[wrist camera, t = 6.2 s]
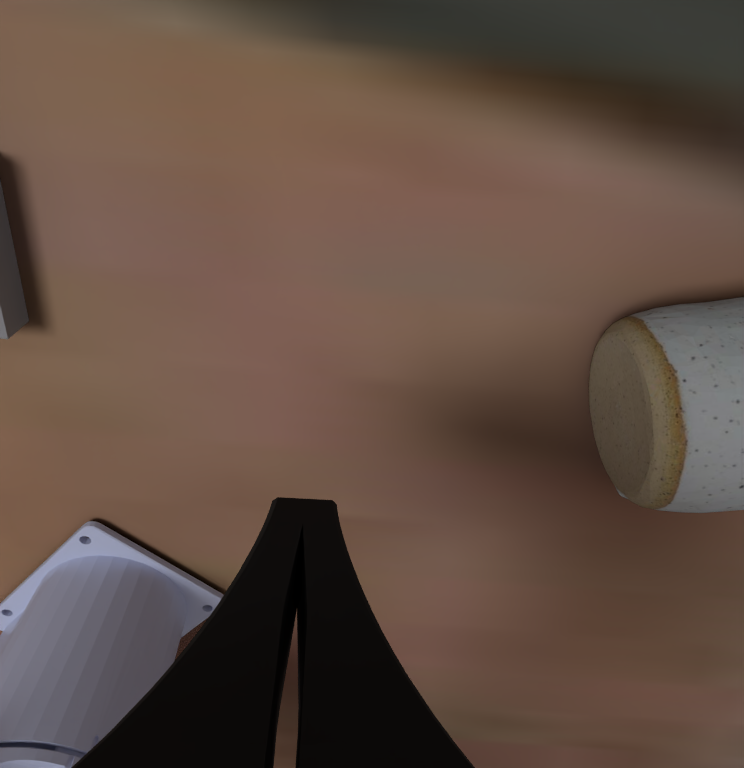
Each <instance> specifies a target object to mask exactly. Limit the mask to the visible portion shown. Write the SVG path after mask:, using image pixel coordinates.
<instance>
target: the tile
mask: <svg viewBox="0 0 744 768" xmlns="http://www.w3.org/2000/svg"><path fill="white" fill-rule="evenodd" d="M27 322H29V318H28V313H27V308H26V303H25V299H24V294H23V289H22V284H21V279H20V274H19V269H18V264H17V259H16V254H15V249H14V244H13V240H12V235H11V230H10V225H9V220H8V215H7V210H6V205H5V200H4V195H3V190H2V186H1V181H0V338H1V339H9V338H10V337H11V336H12V335H13V334H15V333H16V332H17V331H18V330H19V329H20V328H22V327H23V326H24V325H25V324H26V323H27Z"/></svg>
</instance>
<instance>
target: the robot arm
mask: <svg viewBox="0 0 744 768" xmlns="http://www.w3.org/2000/svg"><path fill="white" fill-rule="evenodd" d="M85 536H86V537H85ZM87 537H89V538H87ZM296 611H297V632H298V700H299V712H298V739H297V754H296V768H475V767H474V766H473V765H472V764H471V762H470V761H469V760H468V759H467V757H466V756H465V755H464V754H463V752H462V751H461V750H460V749H459V747H458V746H457V745H456V744H455V742H454V741H453V740H452V738H451V737H450V736H449V734H448V733H447V732H446V730H445V729H444V728H443V726H442V725H441V724H440V722H439V721H438V720H437V718H436V717H435V716H434V714H433V713H432V711H431V710H430V708H429V707H428V705H427V704H426V702H425V701H424V699H423V698H422V696H421V695H420V693H419V692H418V690H417V689H416V687H415V686H414V684H413V683H412V681H411V680H410V678H409V677H408V675H407V674H406V672H405V670H404V669H403V667H402V665H401V664H400V662H399V660H398V659H397V657H396V655H395V654H394V652H393V650H392V648H391V646H390V645H389V643H388V641H387V639H386V637H385V636H384V634H383V632H382V630H381V628H380V626H379V624H378V622H377V620H376V618H375V616H374V614H373V612H372V610H371V608H370V605H369V603H368V601H367V599H366V597H365V594H364V592H363V590H362V587H361V585H360V583H359V580H358V578H357V575H356V572H355V570H354V567H353V564H352V562H351V559H350V556H349V553H348V551H347V547H346V544H345V541H344V538H343V534H342V530H341V527H340V522H339V517H338V512H337V504H336V503H335V502H334V501H333V500H317V499H298V498H279V497H278V498H276V499H275V500H273V501H272V504H271V507H270V510H269V513H268V515H267V518H266V520H265V523H264V525H263V527H262V529H261V531H260V534H259V536H258V538H257V540H256V542H255V544H254V546H253V547H252V549H251V551H250V553H249V554H248V556H247V558H246V560H245V562H244V563H243V565H242V567H241V569H240V571H239V572H238V574H237V575H236V577H235V579H234V580H233V582H232V583H231V585H230V586H229V588H228V589H227V591H226V593H225V594H224V595H223V594H222V593H220V592H219V591H217V590H215V589H213V588H212V587H210V586H208V585H206V584H205V583H203V582H201V581H200V580H198V579H196V578H194V577H193V576H191V575H189V574H187V573H186V572H184V571H182V570H180V569H179V568H177V567H175V566H174V565H172V564H170V563H168V562H167V561H165V560H163V559H161V558H160V557H158V556H156V555H154V554H153V553H151V552H149V551H148V550H146V549H144V548H142V547H141V546H139V545H137V544H135V543H134V542H132V541H130V540H129V539H127V538H125V537H123V536H122V535H120V534H118V533H116V532H115V531H113V530H111V529H109V528H108V527H106V526H104V525H103V524H101V523H99V522H96V521H89V522H86V523H85V524H84V525H83V526H81V527H80V528H79V529H78V530H77V531H76V532H75V533H74V534H73V535H72V536H71V537H70V538H69V539H68V540H67V541H66V542H65V543H64V544H62V545H61V546H60V547H59V548H58V549H57V550H56V551H55V552H54V553H53V554H52V555H51V556H50V557H49V558H48V559H47V560H46V561H44V562H43V563H42V564H41V565H40V566H39V567H38V568H37V569H36V570H35V571H34V572H33V573H32V574H31V575H30V576H29V577H28V578H26V579H25V580H24V581H23V582H22V583H21V584H20V585H19V586H18V587H17V588H16V589H15V590H14V591H13V592H12V593H11V594H10V595H8V596H7V597H6V598H5V599H4V600H3V601H2V602H1V603H0V630H1V631H3V632H2V634H1V636H0V768H273V765H274V754H275V743H276V732H277V724H278V717H279V709H280V703H281V697H282V691H283V686H284V680H285V674H286V668H287V663H288V657H289V651H290V646H291V640H292V634H293V628H294V622H295V617H296ZM208 617H209V618H208ZM207 618H208V619H207ZM205 619H207V620H206V622H205V623H204V625H203V626H202V627H201V629H200V630H199V631H198V633H197V634H196V635H195V636H194V638H193V639H192V640H191V642H190V643H189V644H188V646H187V647H186V648H185V649H184V650H183V652H182V653H181V654H180V655H179V656H178V658H177V659H176V660H175V657H176V653H177V650H178V646H179V642H180V639H181V637H183V636H184V635H185V634H187V633H188V632H189V631H191V630H192V629H193V628H195V627H196V626H197V625H199V624H200V623H201V622H203V621H204V620H205Z"/></svg>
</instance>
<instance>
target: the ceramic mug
mask: <svg viewBox="0 0 744 768" xmlns="http://www.w3.org/2000/svg"><path fill="white" fill-rule="evenodd" d="M589 407H590V414H591V422H592V427H593V432H594V437H595V442H596V445H597V448H598V451H599V454H600V458H601V460H602V463H603V465H604V468H605V470H606V472H607V474H608V475H609V477H610V479H611V481H612V482H613V484H614V485H615V487H616V489H617V491H618V493H619V495H620V496H622V497H624V498H626V499H629V500H630V501H631V502H633V503H635V504H637V505H639V506H641V507H645V508H650V509H655V510H662V511H672V512H689V513H707V512H720V511H733V510H744V297H740V298H733V299H726V300H719V301H711V302H703V303H690V304H677V305H671V306H665V307H659V308H653V309H650V310H647V311H643V312H639V313H636V314H632V315H630V316H627V317H624V318H622V319H620V320H618V321H616V322H615V323H613V324H612V325H611V326H610V327H609V328H608V329H607V330H606V331H605V333H604V334H603V336H602V337H601V339H600V340H599V342H598V344H597V345H596V347H595V350H594V354H593V358H592V362H591V366H590V377H589Z"/></svg>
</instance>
